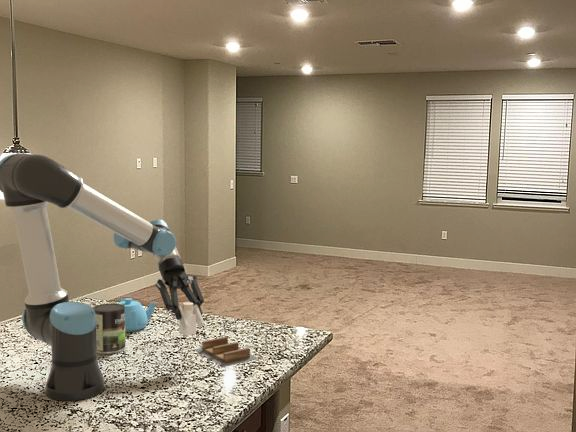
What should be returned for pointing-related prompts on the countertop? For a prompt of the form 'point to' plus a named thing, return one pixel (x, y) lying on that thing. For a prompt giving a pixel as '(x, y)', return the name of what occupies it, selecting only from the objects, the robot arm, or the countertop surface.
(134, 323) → the teapot
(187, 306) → the salt shaker
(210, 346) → the rack
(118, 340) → the coffee can
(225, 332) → the countertop surface
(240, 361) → the mat
